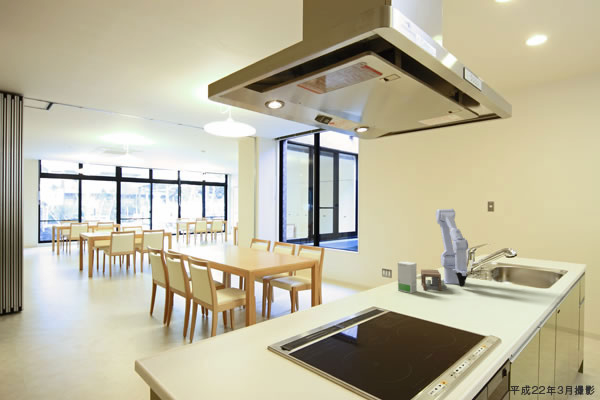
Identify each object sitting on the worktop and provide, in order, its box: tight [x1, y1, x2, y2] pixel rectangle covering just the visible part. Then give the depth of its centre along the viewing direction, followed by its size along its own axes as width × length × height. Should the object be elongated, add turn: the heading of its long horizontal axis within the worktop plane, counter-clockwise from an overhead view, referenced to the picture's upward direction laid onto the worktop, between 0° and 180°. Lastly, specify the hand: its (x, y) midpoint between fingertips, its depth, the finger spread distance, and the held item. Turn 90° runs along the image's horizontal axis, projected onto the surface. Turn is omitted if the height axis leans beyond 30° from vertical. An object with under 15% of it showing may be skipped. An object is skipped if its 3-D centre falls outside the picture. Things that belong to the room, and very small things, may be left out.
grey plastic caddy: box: [426, 277, 448, 291], centre depth 178 cm, size 5×11×6 cm, turn 74°
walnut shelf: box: [420, 269, 442, 292], centre depth 179 cm, size 12×9×9 cm
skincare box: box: [397, 260, 418, 294], centre depth 175 cm, size 8×7×16 cm
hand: (462, 286), depth 175 cm, fingers closed
